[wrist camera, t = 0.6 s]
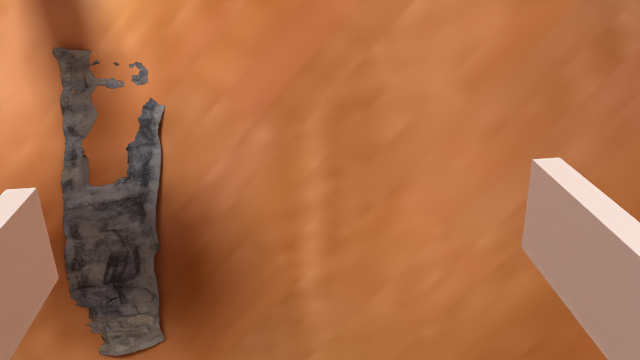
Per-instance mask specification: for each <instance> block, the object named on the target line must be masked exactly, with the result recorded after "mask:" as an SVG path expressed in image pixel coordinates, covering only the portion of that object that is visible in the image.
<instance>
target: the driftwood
mask: <svg viewBox="0 0 640 360" xmlns="http://www.w3.org/2000/svg"><path fill="white" fill-rule="evenodd" d="M52 53H53V55H54V56H55V57H56V58H57V60H58V61H59V65H60V69H61V79H62V85H63V87H64V90H63V93H62V94H61V99H60V103H61V110H62V114H63V118H64V121H63V123H64V124H63V131H64V136H65V140H66V143H65V145H66V148H65V158H64V169H63V174H62V180H61V185H62V189H63V200H64V204H65V207H64V216H63V225H64V231H65V237H66V239H67V242H66V246H65V261H66V264H65V265H66V271H67V275H68V276H67V279H68V281H69V287H70V289H69V292H70V295H71V298H72V299H74V300H77V301H78V302H77V303H76V305H79V306H80V307H86V308H89V319H91V321H92V323H89V324H87V325H89V326H90V327H92V329H91V332H93V333H102V339H103V340H104V341H105V342H104V344H103V345H102V346H101V347H100V348H99V354H102V355H111V356H114V355H115V356H118V355H120V356H121V355H123V354H128V353H132V352H136V351H138V350H142V349H145V348H147V347H151V346H154V345H156V344H157V343H158V342H162V341H163V340H164V338H165V337H164V335H163V333H162V332H161V329H160V327H159V323H160V322H159V312H158V310H159V303H160V302H159V295H158V294H159V292H158V287H157V279H156V275H155V273H154V255H155V253H156V252H158V251H159V249H160V243H159V241H158V239H157V232H156V227H155V222H156V212H155V207H156V204H157V201H156V200H157V194H158V192H157V191H158V187H159V182H158V181H159V177H160V167H161V145H160V139H159V137H158V128H159V125H158V123H159V121H160V120H161V116H162V113H163V111H164V108H165V105H158V104H157V102H156V101H154V100H153V99H152V98H150V100H149V101H148V102H147V103H146V105H143V109H142V114H141V116H140V117H138V121H139V123H140V128H139V131H138V133H137V135H136V138H135V140H134V142H131V143H129V144H128V147H127V148H126V150H127V151H128V161H127V163H128V164H129V167H128V169H127V176H128V177H122V178H123V179H118V180H117V181H115V182H114V184H106V185H104V186H92V185H91V184H89V169H88V167H89V160H88V158H86V157H85V155H83V152H84V149H83V148H82V147H80V146H81V144H82V142H81V141H82V140H83V139H84V138H85V137H86V136H87V135H88V134H89V131H90V130H91V128H92V126H93V125H92V124H93V123H95V121H96V118H97V116H98V113H97V111H96V109H95V107H94V106H93V104H92V100H91V94H92V92H93V91H94V90H95V87H96V86H99V85H102V86H106V87H107V88H111V89H113V88H118V87H122V86H125V85H124V83H123V81H122V82H121V83H120V85H119V83H118V82H119V81H118V80H115V79H114V78H111V79H105V78H102V79H96V78H94V75H93V73H92V71H91V70H90V69H89V68H88V67H89V66H90V63H89V58H90V54H91V51H87V50H80V51H79V50H78V49H76V50H67V49H64V48H62V47H58V48H56V47H55V49H53V51H52ZM98 63H100V62H99V61H97V60H95V62H93V64H92V65H95V64H98ZM114 64H115V65H119V64H118V63H114ZM134 66H136V67H137V68H138V69H140V73H139V75H132V81H133V82H134V83H135V84H136V85H142V84H145V83H147V82H148V80H147V75H148V70H147V69H146V68H145V67H144V66H143V65H142V63H139V62H135V63H134V64H129V67H130V68H133V67H134ZM72 90H74V91H76V92H75V93H73V92H71V91H72ZM87 325H86V326H87Z"/></svg>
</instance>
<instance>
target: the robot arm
mask: <svg viewBox="0 0 640 360" xmlns="http://www.w3.org/2000/svg"><path fill="white" fill-rule="evenodd" d="M521 248H522V249H523V250H524V252H525V253H526V254H527V256H528V257H529V258H530V259H531V261H532V262H533V263H534V265H535V266H536V267H537V269H538V270H539V271H540V272H541V274H542V275H543V276H544V278H545V279H546V280H547V282H548V283H549V284H550V285H551V287H552V288H553V289H554V291H555V292H556V293H557V294H558V296H559V297H560V298H561V300H562V301H563V302H564V304H565V305H566V306H567V307H568V309H569V310H570V311H571V313H572V314H573V315H574V317H575V318H576V319H577V320H578V322H579V323H580V324H581V326H582V327H583V328H584V330H585V331H586V332H587V333H588V335H589V336H590V337H591V339H592V340H593V341H594V342H595V344H596V345H597V346H598V348H599V349H600V350H601V352H602V353H603V354H604V355H605V357H606V358H607V359H608V360H640V223H639V222H638V221H637V220H636V219H635V218H633V217H632V216H631V215H630V214H628V213H627V212H626V211H625V210H623V209H622V208H621V207H620V206H619V205H617V204H616V203H615V202H614V201H612V200H611V199H610V198H609V197H607V196H606V195H605V194H604V193H603V192H601V191H600V190H599V189H598V188H596V187H595V186H594V185H593V184H591V183H590V182H589V181H588V180H587V179H585V178H584V177H583V176H582V175H580V174H579V173H578V172H577V171H576V170H574V169H573V168H572V167H571V166H569V165H568V164H567V163H566V162H564V161H563V160H562V159H561V158H546V159H532V166H531V174H530V182H529V190H528V198H527V206H526V215H525V223H524V231H523V239H522V247H521ZM58 279H59V277H58V273H57V269H56V265H55V261H54V256H53V252H52V248H51V244H50V240H49V236H48V232H47V228H46V224H45V220H44V216H43V212H42V208H41V203H40V199H39V195H38V191H37V188H23V189H6V190H5V191H4V192H3V193H2V194H1V195H0V360H10V359H11V357H12V356H13V354H14V352H15V351H16V349H17V347H18V346H19V344H20V342H21V341H22V339H23V337H24V336H25V334H26V332H27V331H28V329H29V327H30V326H31V324H32V322H33V321H34V319H35V317H36V316H37V314H38V312H39V311H40V309H41V307H42V306H43V304H44V302H45V301H46V299H47V297H48V296H49V294H50V292H51V291H52V289H53V287H54V285H55V284H56V282H57V280H58Z"/></svg>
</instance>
